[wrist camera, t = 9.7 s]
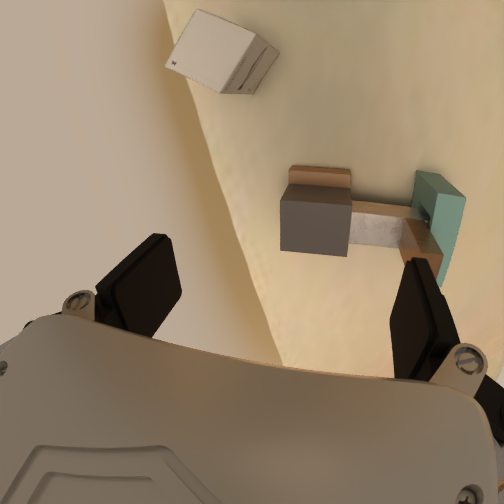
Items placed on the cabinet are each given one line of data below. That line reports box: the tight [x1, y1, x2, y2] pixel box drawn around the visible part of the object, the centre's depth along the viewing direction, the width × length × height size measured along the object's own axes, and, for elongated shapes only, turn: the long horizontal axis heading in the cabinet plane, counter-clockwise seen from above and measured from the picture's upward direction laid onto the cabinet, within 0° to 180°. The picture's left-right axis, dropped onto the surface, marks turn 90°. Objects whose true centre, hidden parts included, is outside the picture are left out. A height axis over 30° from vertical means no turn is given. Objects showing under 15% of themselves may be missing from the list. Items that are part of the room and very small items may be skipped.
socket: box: [411, 171, 466, 287], centre depth 32 cm, size 12×4×10 cm, turn 3°
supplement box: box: [165, 9, 279, 95], centre depth 27 cm, size 7×7×13 cm
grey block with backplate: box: [280, 166, 352, 257], centre depth 36 cm, size 10×8×9 cm
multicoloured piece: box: [349, 200, 444, 280], centre depth 30 cm, size 4×14×12 cm, turn 93°
